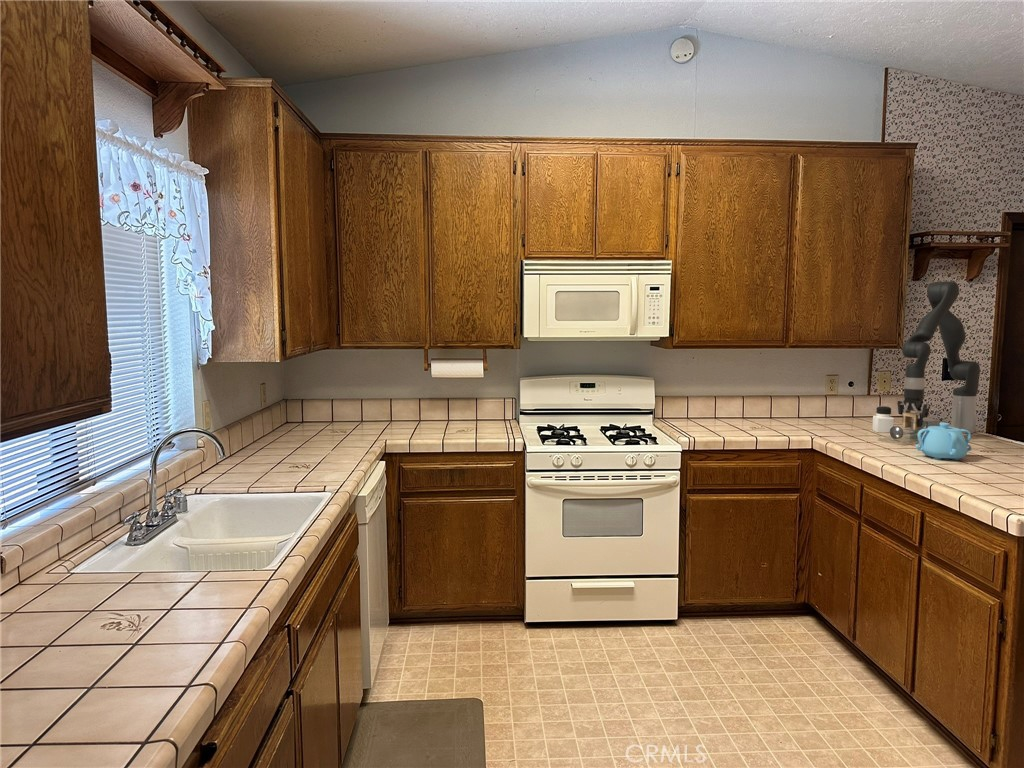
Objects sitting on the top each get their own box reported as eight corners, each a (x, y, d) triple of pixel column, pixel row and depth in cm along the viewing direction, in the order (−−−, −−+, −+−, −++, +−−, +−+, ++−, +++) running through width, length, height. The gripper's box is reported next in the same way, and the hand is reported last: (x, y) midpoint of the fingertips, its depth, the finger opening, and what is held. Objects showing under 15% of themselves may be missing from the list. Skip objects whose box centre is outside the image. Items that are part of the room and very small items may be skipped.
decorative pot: (977, 459, 256) (979, 424, 255) (953, 463, 249) (955, 427, 247) (933, 451, 270) (935, 418, 269) (909, 456, 263) (911, 421, 262)
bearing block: (919, 436, 304) (920, 416, 303) (945, 440, 293) (946, 420, 292) (878, 440, 294) (879, 420, 294) (902, 445, 283) (903, 425, 282)
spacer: (909, 427, 296) (910, 412, 296) (921, 429, 291) (922, 414, 290) (902, 427, 295) (903, 412, 294) (915, 429, 290) (915, 414, 289)
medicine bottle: (893, 433, 312) (894, 407, 311) (877, 432, 313) (878, 407, 312) (888, 430, 319) (889, 405, 318) (872, 430, 320) (873, 405, 319)
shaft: (918, 434, 299) (919, 422, 298) (930, 436, 294) (931, 424, 293) (889, 437, 292) (889, 425, 292) (900, 440, 287) (901, 427, 287)
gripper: (935, 388, 286) (933, 427, 288) (905, 385, 299) (903, 422, 301) (923, 389, 283) (921, 428, 285) (893, 386, 296) (891, 424, 298)
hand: (912, 425), depth 293 cm, fingers closed on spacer, 5 cm apart
